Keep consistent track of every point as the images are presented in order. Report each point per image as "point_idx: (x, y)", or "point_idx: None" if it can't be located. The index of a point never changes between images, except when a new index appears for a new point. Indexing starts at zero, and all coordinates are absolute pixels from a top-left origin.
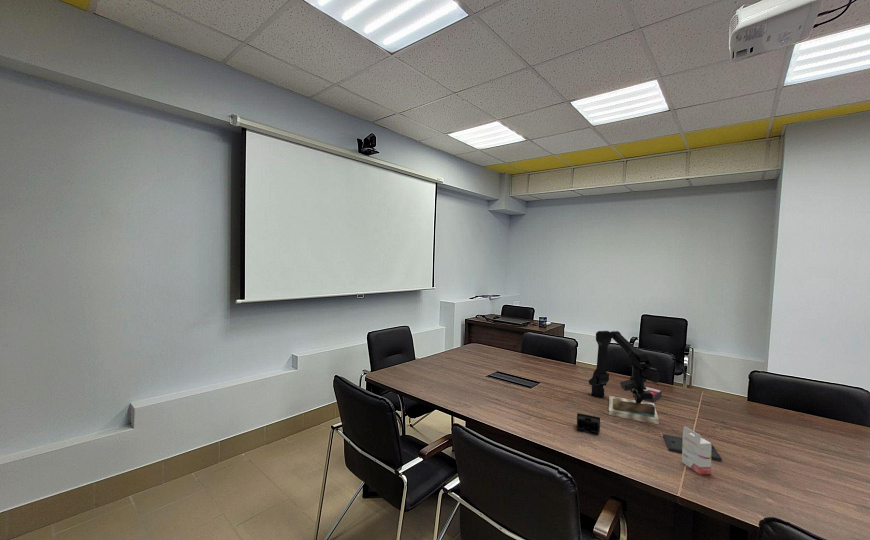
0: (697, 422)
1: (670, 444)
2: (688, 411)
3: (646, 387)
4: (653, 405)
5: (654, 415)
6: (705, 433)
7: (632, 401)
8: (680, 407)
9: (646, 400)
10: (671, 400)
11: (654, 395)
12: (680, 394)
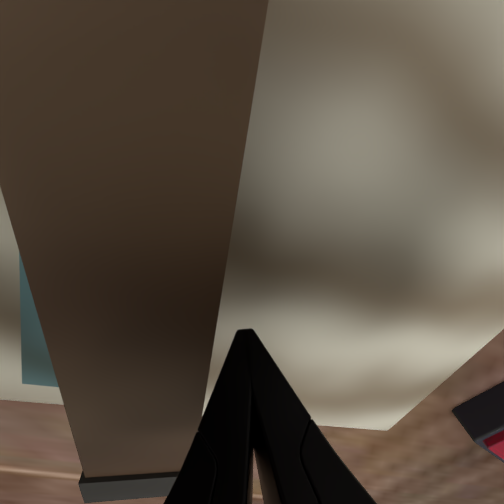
0: None
1: None
2: None
3: None
4: (151, 496)
5: None
6: (27, 496)
7: (469, 314)
8: (364, 474)
9: (490, 390)
10: (448, 464)
11: (500, 457)
12: (491, 488)
